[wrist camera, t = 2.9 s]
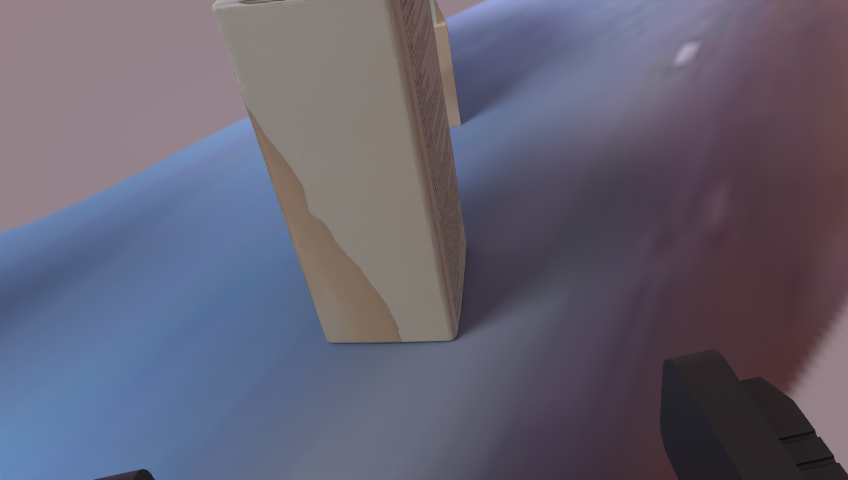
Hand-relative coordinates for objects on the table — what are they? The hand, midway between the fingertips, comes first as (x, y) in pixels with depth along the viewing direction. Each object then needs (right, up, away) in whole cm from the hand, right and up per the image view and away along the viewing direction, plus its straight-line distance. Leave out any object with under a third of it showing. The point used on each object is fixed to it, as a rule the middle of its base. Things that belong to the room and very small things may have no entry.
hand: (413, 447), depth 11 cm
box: (-1, +1, +13) cm, 13 cm away
